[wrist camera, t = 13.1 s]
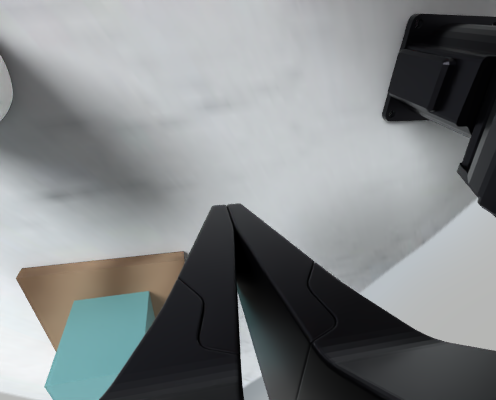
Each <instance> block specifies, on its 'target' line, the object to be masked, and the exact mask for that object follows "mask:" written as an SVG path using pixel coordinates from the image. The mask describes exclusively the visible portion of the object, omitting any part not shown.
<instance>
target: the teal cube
mask: <svg viewBox="0 0 496 400" xmlns="http://www.w3.org/2000/svg"><path fill="white" fill-rule="evenodd" d="M154 320H155V316H154V311H153V307H152V302H151V297H150V293H149V291H145V292H137V293H130V294H122V295H114V296H107V297H99V298H91V299H83V300H76V301H74V302H73V305H72V308H71V311H70V314H69V317H68V320H67V323H66V326H65V329H64V331H63V334H62V337H61V340H60V343H59V346H58V349H57V352H56V355H55V357H54V360H53V363H52V366H51V369H50V372H49V375H48V378H47V381H46V384H45V386H44V387H45V388H46V390H47V391H48V393H49V394H50V396H51V397H52V399H53V400H99V399H100V398H101V397H102V395H103V394H104V393H105V392H106V391H107V389H108V388H109V387H110V386H111V384H112V383H113V381H114V380H115V378H116V377H117V376H118V374H119V373H120V371H121V370H122V368H123V367H124V365H125V364H126V362H127V361H128V359H129V358H130V356H131V355H132V353H133V352H134V350H135V349H136V347H137V346H138V344H139V343H140V341H141V340H142V338H143V337H144V335H145V334H146V332H147V331H148V329H149V328H150V326H151V325H152V323H153V321H154Z"/></svg>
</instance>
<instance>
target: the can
mask: <svg viewBox="0 0 496 400" xmlns="http://www.w3.org/2000/svg"><path fill="white" fill-rule="evenodd" d="M12 99H13V88H12V82H11V78H10V75H9V72H8V70H7V67H6V65H5V63H4V61H3V59H2V57H1V55H0V121H1V120H2V119H3V118H4V116H5V115H6V114H7V112H8V110H9V108H10V106H11V103H12Z"/></svg>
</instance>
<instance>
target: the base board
mask: <svg viewBox="0 0 496 400" xmlns="http://www.w3.org/2000/svg"><path fill="white" fill-rule="evenodd" d="M184 263H185V260H184V251H183V252H174V253H164V254H155V255H145V256H136V257H126V258H117V259H107V260H98V261H88V262H79V263H69V264H60V265H50V266H41V267H31V268H22V269H21V271H20V272H19V274H18V276H17V278H16V279H17V281H18V283H19V285H20V287H21V289H22V290H23V292H24V294H25V296H26V298H27V299H28V301H29V303H30V305H31V307H32V309H33V310H34V312H35V314H36V316H37V318H38V320H39V321H40V323H41V325H42V327H43V329H44V331H45V332H46V334H47V336H48V338H49V340H50V341H51V343H52V345H53V347H54V349H55V351H56V352H57V349H58V346H59V343H60V340H61V337H62V334H63V331H64V329H65V326H66V323H67V320H68V317H69V314H70V311H71V308H72V305H73V302H74V301H76V300H83V299H91V298H99V297H107V296H114V295H122V294H130V293H137V292H145V291H149V293H150V297H151V302H152V307H153V311H154V316H155V318H156V317H157V315H158V313H159V312H160V310H161V309H162V307H163V305H164V303H165V301H166V299H167V298H168V296H169V294H170V292H171V290H172V288H173V286H174V284H175V282H176V280H177V278H178V276H179V274H180V272H181V270H182V268H183V265H184Z"/></svg>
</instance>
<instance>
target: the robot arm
mask: <svg viewBox="0 0 496 400" xmlns="http://www.w3.org/2000/svg"><path fill="white" fill-rule="evenodd" d="M417 20H418V21H419V22H418V25H417V26H416V27H415V23H416V21H417ZM492 24H493V26H492ZM391 111H392V113H391V115H390V116H389V113H390V112H391ZM382 116H383V118H384V119H385V120H387V121H413V120H432V121H434V122H436V123H438V124H440V125H443V126H445V127H447V128H449V129H451V130H453V131H456V132H458V133H460V134H462V135H464V136H466V137H469V138H470V141H469V144H468V147H467V150H466V153H465V155H464V158H463V161H462V163H460V164H459V167H458V170H457V173H458V174H459V175H460V176H461V178H462V179H463V180H464V181H465V182H466V184H467V185H468V186H469V187H470V188H471V190H472V191H473V192H474V193H475V195H476V196H477V197H478V203H479V205H480V206H482V208H484V209H486V210H487V211H488V212H490V213H492V214H493V215H494V216H495V217H496V17H485V16H461V15H437V14H414V15H413V16H411V17H410V19H409V21H408V23H407V26H406V30H405V34H404V37H403V41H402V44H401V48H400V51H399V53H398V57H397V60H396V64H395V68H394V71H393V75H392V78H391V82H390V86H389V89H388V95H387V98H386V102H385V105H384V109H383V113H382ZM237 291H238V294H239V298H240V301H241V305H242V308H243V312H244V315H245V318H246V322H247V325H248V329H249V332H250V336H251V339H252V342H253V346H254V349H255V353H256V356H257V360H258V363H259V366H260V370H261V373H262V377H263V380H264V383H265V387H266V390H267V394H268V397H269V400H496V351H493V350H487V349H481V348H476V347H471V346H464V345H459V344H453V343H449V342H444V341H441V340H438V339H434V338H432V337H429V336H427V335H425V334H423V333H421V332H419V331H417V330H415V329H413V328H412V327H410V326H409V325H407V324H405V323H404V322H402V321H401V320H399V319H398V318H396V317H394V316H393V315H391V314H390V313H388V312H387V311H385V310H384V309H382V308H380V307H379V306H377V305H376V304H374V303H373V302H371V301H369V300H368V299H366V298H365V297H363V296H362V295H360V294H359V293H357V292H356V291H354V290H353V289H351V288H350V287H348V286H347V285H345V284H344V283H342V282H341V281H340V280H338V279H337V278H336V277H334V276H333V275H332V274H330V273H329V272H328V271H326V270H325V269H324V268H322V267H321V266H320V265H319V264H317V263H314V261H313V260H312V259H311V258H309V257H308V256H307V255H306V254H304V253H303V252H302V251H300V250H299V249H298V248H297V247H295V246H294V245H293V244H292V243H290V242H289V241H288V240H286V239H285V238H284V237H283V236H281V235H280V234H279V233H278V232H276V231H275V230H274V229H272V228H271V227H270V226H269V225H267V224H266V223H265V222H263V221H262V220H261V219H260V218H258V217H257V216H256V215H255V214H253V213H252V212H251V211H249V210H248V209H247V208H246V207H244V206H243V205H242V204H229V205H227V206H226V205H215V206H212V208H211V210H210V212H209V214H208V216H207V218H206V220H205V222H204V224H203V226H202V228H201V230H200V232H199V234H198V237H197V239H196V241H195V243H194V245H193V247H192V249H191V251H190V253H189V255H188V257H187V259H186V261H185V263H184V265H183V268H182V270H181V272H180V274H179V276H178V278H177V280H176V282H175V284H174V286H173V288H172V290H171V292H170V294H169V296H168V298H167V299H166V301H165V303H164V305H163V307H162V309H161V310H160V312H159V313H158V315H157V317H156V318H155V320H154V321H153V323H152V325H151V326H150V328H149V329H148V331H147V332H146V334H145V335H144V337H143V338H142V340H141V341H140V343H139V344H138V346H137V347H136V349H135V350H134V352H133V353H132V355H131V356H130V358H129V359H128V361H127V362H126V364H125V365H124V367H123V368H122V370H121V371H120V373H119V374H118V376H117V377H116V378H115V380H114V381H113V383H112V384H111V386H110V387H109V388H108V389H107V391H106V392H105V393H104V394H103V395H102V397H101V398H100V399H99V400H244V396H243V387H242V374H241V359H240V337H239V317H238V297H237Z"/></svg>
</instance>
